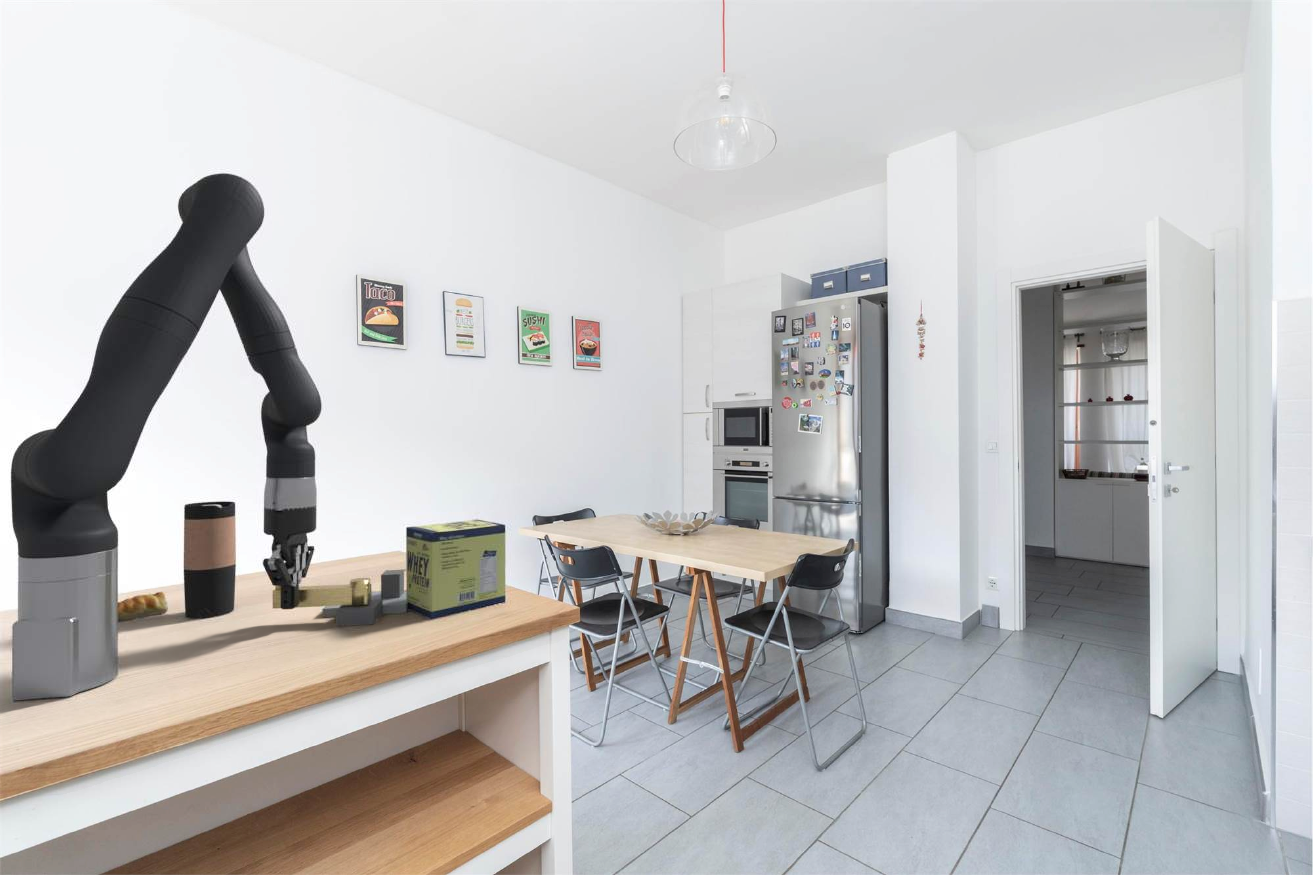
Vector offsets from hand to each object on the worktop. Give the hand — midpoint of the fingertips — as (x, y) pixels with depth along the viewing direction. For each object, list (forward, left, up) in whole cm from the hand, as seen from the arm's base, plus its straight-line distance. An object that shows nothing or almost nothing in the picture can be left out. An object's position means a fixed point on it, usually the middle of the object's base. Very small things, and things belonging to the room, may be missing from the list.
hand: (289, 607), depth 99 cm
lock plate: (+9, -10, -4) cm, 14 cm away
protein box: (+9, -26, -4) cm, 27 cm away
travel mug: (+13, +18, -4) cm, 22 cm away
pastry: (+14, +30, -4) cm, 33 cm away
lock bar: (+3, -4, -1) cm, 5 cm away
